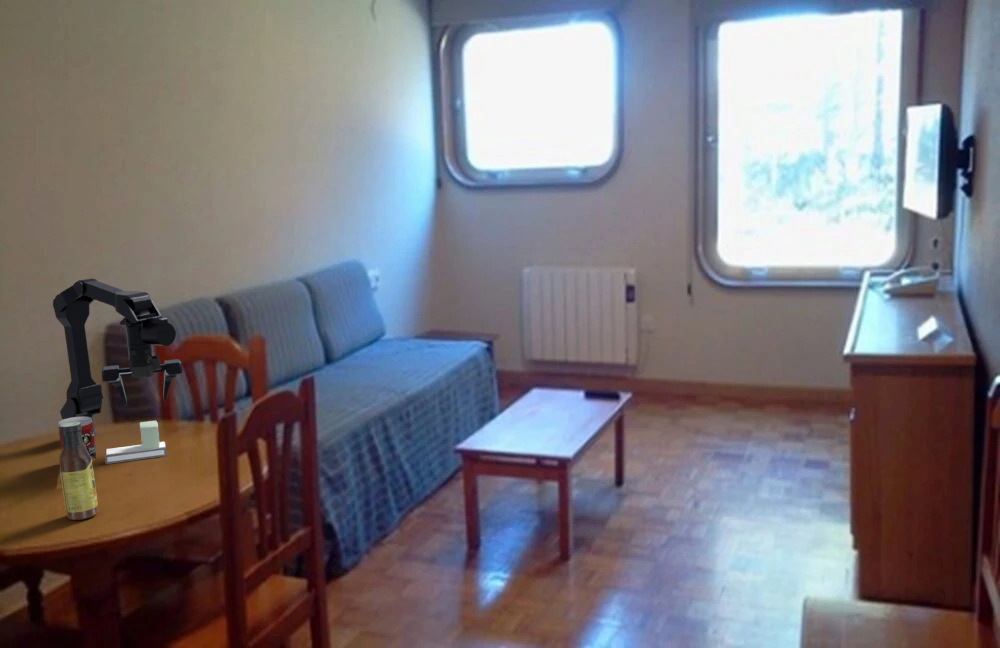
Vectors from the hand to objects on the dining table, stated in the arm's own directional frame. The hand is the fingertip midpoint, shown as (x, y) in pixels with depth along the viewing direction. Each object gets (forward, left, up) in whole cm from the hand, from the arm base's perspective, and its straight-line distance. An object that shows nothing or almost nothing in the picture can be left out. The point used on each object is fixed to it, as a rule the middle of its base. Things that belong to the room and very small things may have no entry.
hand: (145, 403), depth 236 cm
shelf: (+3, -3, -12) cm, 13 cm away
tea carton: (0, 0, -12) cm, 12 cm away
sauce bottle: (+42, -14, -13) cm, 46 cm away
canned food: (+3, -16, -13) cm, 21 cm away
